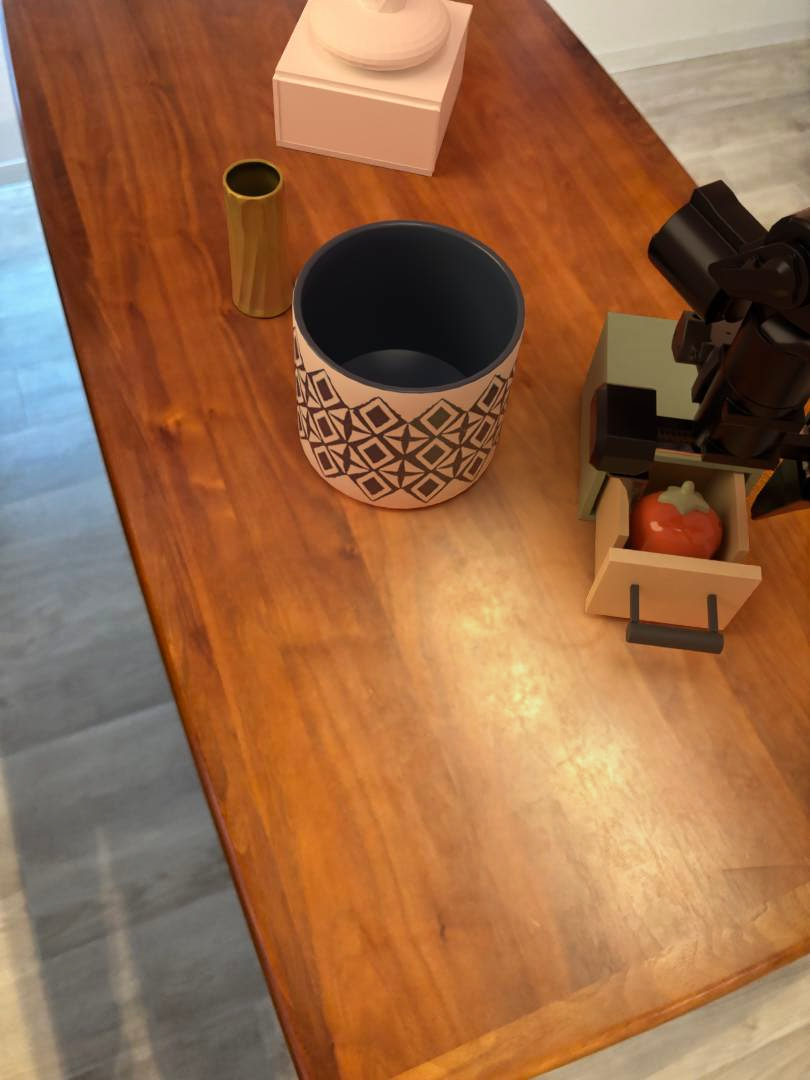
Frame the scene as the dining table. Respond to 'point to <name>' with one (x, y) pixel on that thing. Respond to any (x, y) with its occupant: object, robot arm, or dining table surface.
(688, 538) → the tomato
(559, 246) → the dining table surface
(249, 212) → the vase
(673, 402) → the cabinet
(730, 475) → the drawer
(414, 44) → the pink lidded box
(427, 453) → the planter
